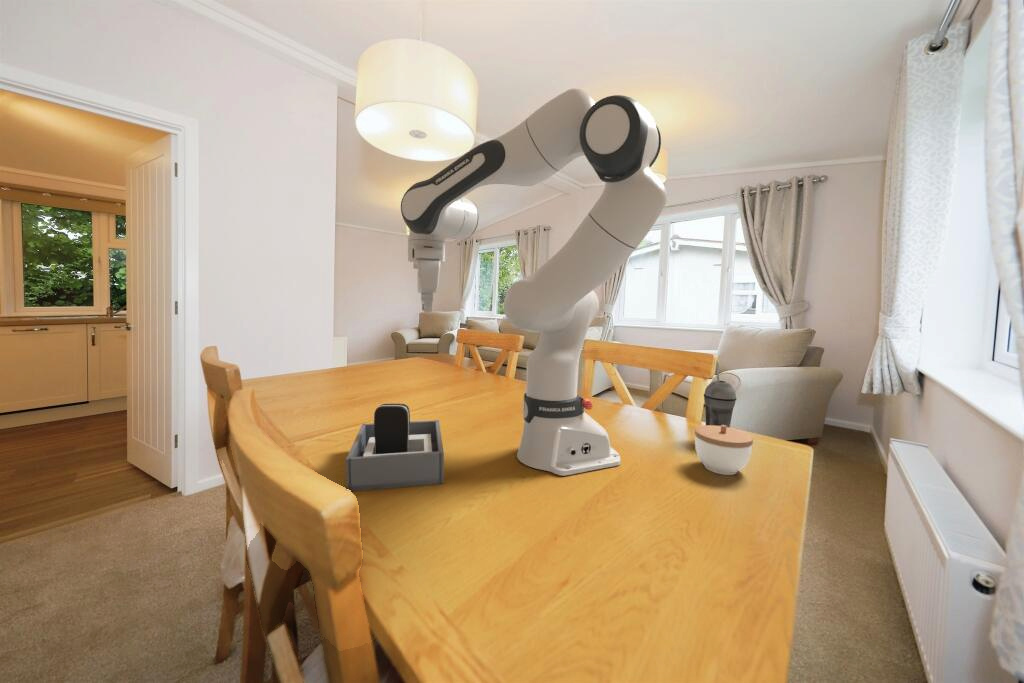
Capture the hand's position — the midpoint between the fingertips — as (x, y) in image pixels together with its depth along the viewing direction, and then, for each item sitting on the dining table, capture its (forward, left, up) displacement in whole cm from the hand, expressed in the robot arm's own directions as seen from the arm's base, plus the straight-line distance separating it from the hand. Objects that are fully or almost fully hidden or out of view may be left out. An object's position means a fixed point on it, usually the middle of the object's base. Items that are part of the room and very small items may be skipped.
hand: (426, 311), depth 96 cm
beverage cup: (-71, +18, -31) cm, 80 cm away
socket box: (+6, +18, -31) cm, 36 cm away
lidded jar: (-60, +32, -31) cm, 75 cm away
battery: (+7, +16, -30) cm, 35 cm away
